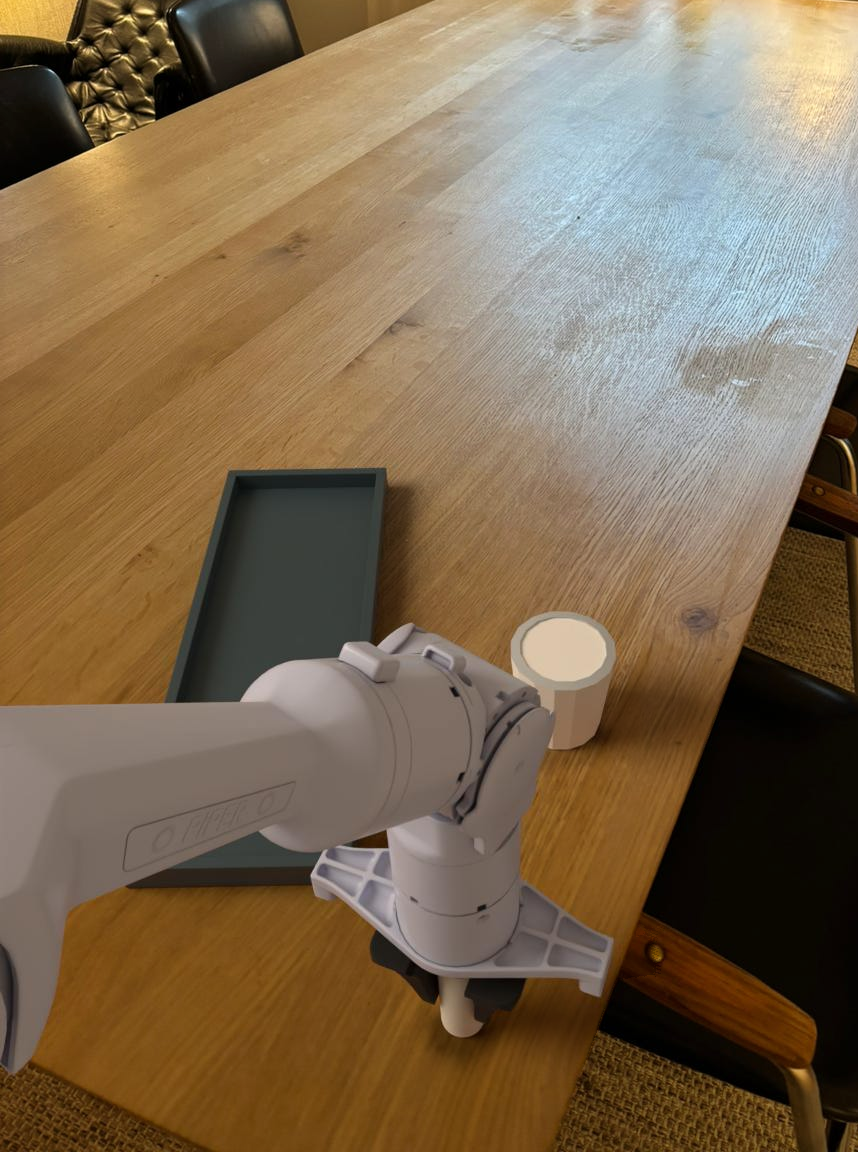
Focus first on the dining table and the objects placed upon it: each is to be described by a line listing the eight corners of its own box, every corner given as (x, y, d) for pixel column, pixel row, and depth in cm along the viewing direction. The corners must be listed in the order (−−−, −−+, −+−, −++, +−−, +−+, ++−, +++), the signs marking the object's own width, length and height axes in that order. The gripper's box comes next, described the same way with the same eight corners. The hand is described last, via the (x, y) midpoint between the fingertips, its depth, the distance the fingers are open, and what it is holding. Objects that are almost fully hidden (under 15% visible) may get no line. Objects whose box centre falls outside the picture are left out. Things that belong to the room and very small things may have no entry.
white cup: (489, 726, 70) (489, 658, 65) (543, 663, 74) (546, 595, 70) (576, 774, 67) (582, 706, 62) (626, 705, 71) (635, 637, 67)
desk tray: (353, 884, 61) (350, 865, 60) (125, 888, 61) (117, 869, 60) (387, 486, 90) (386, 467, 88) (232, 488, 90) (228, 470, 88)
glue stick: (477, 1047, 54) (474, 967, 48) (432, 1029, 55) (423, 948, 49) (493, 1000, 56) (493, 917, 50) (449, 983, 57) (443, 900, 51)
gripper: (639, 829, 46) (616, 970, 55) (346, 739, 50) (369, 884, 59) (597, 976, 41) (579, 1105, 50) (275, 863, 45) (312, 1002, 54)
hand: (462, 994), depth 54 cm, fingers closed on glue stick, 2 cm apart
